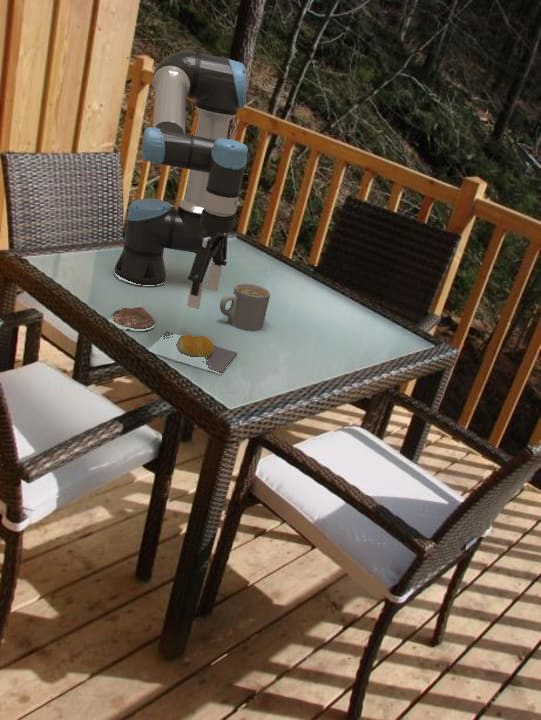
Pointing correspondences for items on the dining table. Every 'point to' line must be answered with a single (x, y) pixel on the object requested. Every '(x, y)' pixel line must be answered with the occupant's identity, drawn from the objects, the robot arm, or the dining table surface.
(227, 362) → the mat
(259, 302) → the coffee mug
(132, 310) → the shell
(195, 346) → the bread roll
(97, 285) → the dining table surface
